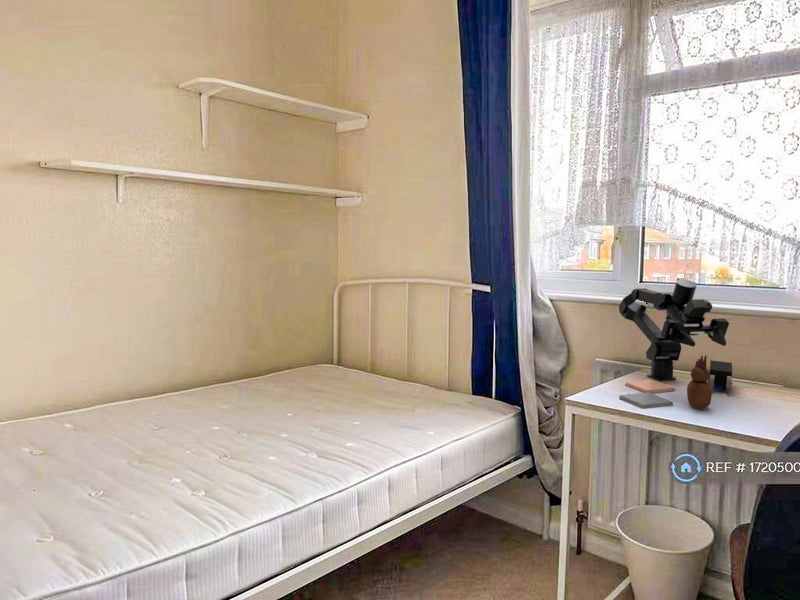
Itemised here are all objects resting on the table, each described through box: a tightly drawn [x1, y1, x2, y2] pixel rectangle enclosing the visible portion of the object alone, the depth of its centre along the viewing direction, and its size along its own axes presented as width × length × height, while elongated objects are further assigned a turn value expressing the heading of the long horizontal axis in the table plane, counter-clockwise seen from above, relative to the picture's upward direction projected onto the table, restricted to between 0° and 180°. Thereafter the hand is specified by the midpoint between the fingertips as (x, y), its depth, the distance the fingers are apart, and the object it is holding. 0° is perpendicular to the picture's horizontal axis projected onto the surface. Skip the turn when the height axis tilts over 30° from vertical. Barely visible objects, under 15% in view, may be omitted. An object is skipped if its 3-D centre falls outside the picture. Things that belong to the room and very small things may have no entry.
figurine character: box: [707, 359, 733, 394], centre depth 184 cm, size 7×8×15 cm
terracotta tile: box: [624, 379, 676, 394], centre depth 186 cm, size 10×10×1 cm
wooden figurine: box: [686, 354, 713, 410], centre depth 165 cm, size 7×6×15 cm
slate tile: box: [619, 392, 674, 409], centre depth 171 cm, size 10×10×1 cm
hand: (709, 344), depth 171 cm, fingers open, 9 cm apart
